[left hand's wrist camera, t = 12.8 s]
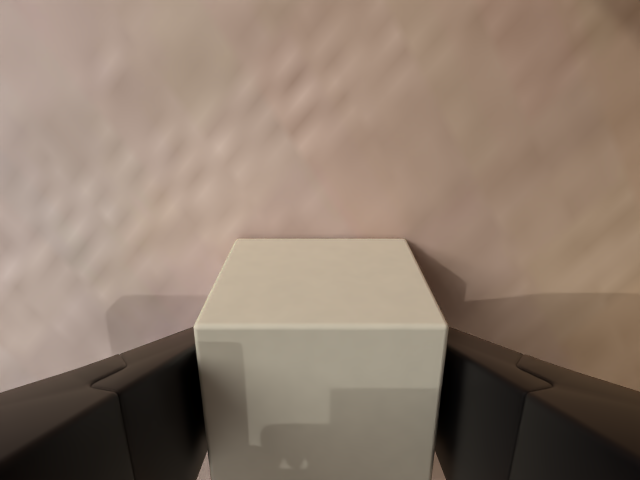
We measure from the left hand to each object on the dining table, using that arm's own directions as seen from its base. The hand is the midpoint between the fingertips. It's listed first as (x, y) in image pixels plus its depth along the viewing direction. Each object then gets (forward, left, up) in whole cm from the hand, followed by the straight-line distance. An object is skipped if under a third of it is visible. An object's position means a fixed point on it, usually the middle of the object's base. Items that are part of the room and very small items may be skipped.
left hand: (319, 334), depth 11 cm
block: (0, 0, -1) cm, 1 cm away
